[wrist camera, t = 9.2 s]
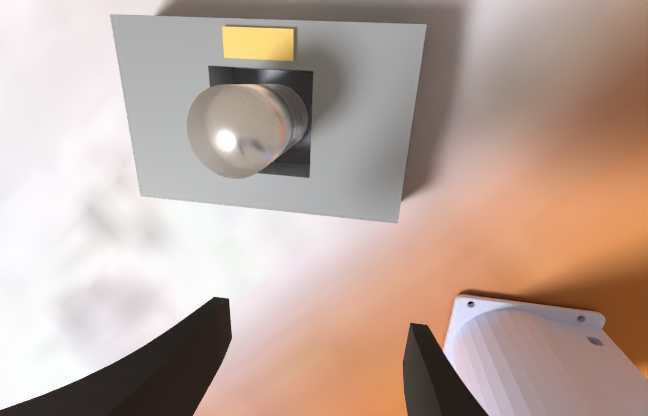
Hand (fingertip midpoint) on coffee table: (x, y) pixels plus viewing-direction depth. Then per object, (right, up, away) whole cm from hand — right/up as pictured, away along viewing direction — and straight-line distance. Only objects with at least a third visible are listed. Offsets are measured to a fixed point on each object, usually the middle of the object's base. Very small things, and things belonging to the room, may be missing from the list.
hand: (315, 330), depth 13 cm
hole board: (-3, +11, +8) cm, 13 cm away
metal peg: (-3, +11, +8) cm, 13 cm away
